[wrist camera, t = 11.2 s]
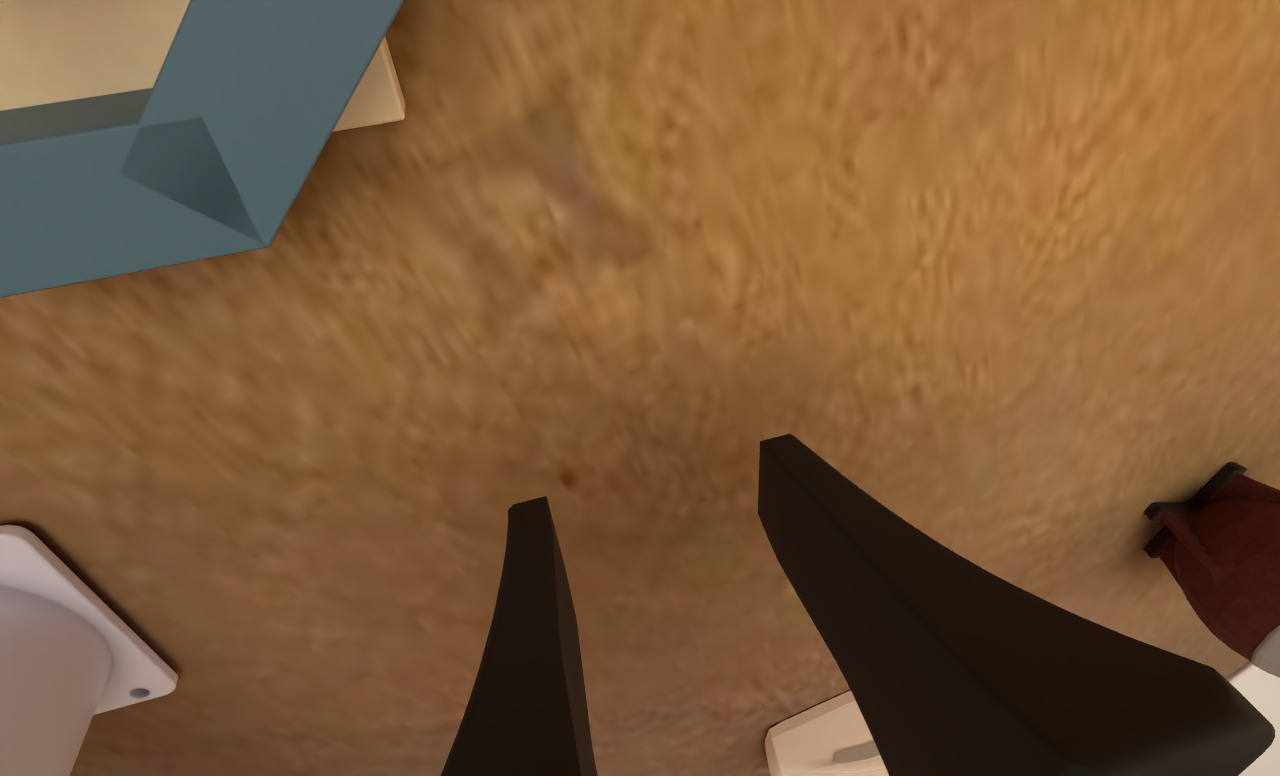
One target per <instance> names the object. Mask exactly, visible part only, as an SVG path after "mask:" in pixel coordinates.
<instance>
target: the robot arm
mask: <svg viewBox="0 0 1280 776" xmlns="http://www.w3.org/2000/svg"><path fill="white" fill-rule="evenodd" d="M758 515H759V517H760V519H761V522H762V524H763V527H764V529H765V532H766V534H767V536H768V539H769V541H770V543H771V546H772V548H773V550H774V552H775V555H776V557H777V559H778V561H779V563H780V565H781V567H782V568H783V570H784V572H785V574H786V575H787V577H788V579H789V581H790V582H791V584H792V586H793V588H794V589H795V591H796V593H797V595H798V596H799V598H800V600H801V602H802V603H803V605H804V607H805V609H806V610H807V612H808V614H809V615H810V617H811V619H812V621H813V622H814V624H815V626H816V627H817V629H818V631H819V633H820V634H821V636H822V638H823V640H824V641H825V643H826V645H827V646H828V648H829V650H830V652H831V653H832V655H833V657H834V658H835V660H836V662H837V664H838V666H839V668H840V670H841V672H842V673H843V675H844V677H845V679H846V681H847V683H848V685H849V687H850V689H851V692H852V694H853V696H854V698H855V700H856V702H857V705H858V707H859V709H860V711H861V713H862V715H863V718H864V720H865V722H866V724H867V726H868V729H869V731H870V733H871V735H872V737H873V740H874V742H875V744H876V747H877V749H878V751H879V753H880V756H881V758H882V760H883V763H884V765H885V767H886V769H887V772H888V774H889V776H1238V775H1239V774H1240V773H1241V772H1242V771H1244V770H1245V769H1246V768H1247V767H1248V766H1249V765H1250V764H1252V763H1253V762H1254V761H1255V760H1256V759H1257V758H1258V757H1259V756H1260V755H1262V754H1263V753H1264V752H1265V750H1266V749H1267V748H1268V747H1269V746H1270V745H1271V744H1272V742H1273V740H1274V738H1275V729H1274V727H1273V726H1272V724H1271V723H1270V722H1269V721H1268V720H1267V719H1266V718H1265V717H1264V716H1263V715H1262V714H1261V713H1260V712H1259V711H1258V710H1257V709H1256V708H1255V707H1254V706H1253V705H1252V704H1251V703H1250V702H1249V701H1248V700H1247V699H1246V698H1245V697H1243V696H1242V694H1241V693H1240V692H1239V691H1238V690H1237V689H1236V688H1234V687H1233V686H1232V685H1231V684H1230V683H1229V682H1228V681H1227V680H1226V679H1225V678H1224V677H1223V676H1222V675H1220V674H1219V673H1218V672H1217V671H1216V670H1215V669H1214V668H1212V667H1209V666H1207V665H1204V664H1201V663H1198V662H1196V661H1193V660H1190V659H1187V658H1185V657H1182V656H1179V655H1176V654H1174V653H1171V652H1168V651H1165V650H1163V649H1160V648H1157V647H1154V646H1152V645H1149V644H1146V643H1143V642H1141V641H1138V640H1135V639H1133V638H1130V637H1128V636H1125V635H1123V634H1120V633H1118V632H1116V631H1113V630H1111V629H1108V628H1106V627H1104V626H1101V625H1099V624H1096V623H1094V622H1092V621H1089V620H1087V619H1084V618H1082V617H1080V616H1078V615H1075V614H1073V613H1071V612H1069V611H1066V610H1064V609H1062V608H1060V607H1058V606H1056V605H1054V604H1052V603H1050V602H1048V601H1045V600H1043V599H1041V598H1039V597H1037V596H1035V595H1033V594H1031V593H1029V592H1027V591H1025V590H1023V589H1021V588H1018V587H1016V586H1014V585H1012V584H1010V583H1008V582H1006V581H1005V580H1003V579H1001V578H999V577H997V576H995V575H993V574H991V573H989V572H988V571H986V570H984V569H982V568H981V567H979V566H977V565H975V564H973V563H972V562H970V561H968V560H966V559H965V558H963V557H961V556H959V555H958V554H956V553H954V552H953V551H951V550H950V549H948V548H946V547H945V546H943V545H941V544H940V543H938V542H937V541H935V540H933V539H932V538H930V537H929V536H927V535H926V534H924V533H923V532H921V531H920V530H918V529H917V528H915V527H914V526H912V525H911V524H909V523H908V522H906V521H905V520H903V519H902V518H900V517H899V516H897V515H896V514H895V513H893V512H892V511H890V510H889V509H887V508H886V507H885V506H883V505H882V504H881V503H879V502H878V501H877V500H875V499H874V498H872V497H871V496H870V495H868V494H867V493H866V492H864V491H863V490H861V489H860V488H859V487H857V486H856V485H855V484H854V483H852V482H851V481H850V480H848V479H847V478H846V477H844V476H843V475H842V474H841V473H839V472H838V471H837V470H836V469H834V468H833V467H832V466H830V465H829V464H828V463H827V462H825V461H824V460H823V459H822V458H820V457H819V456H818V455H817V454H816V453H814V452H813V451H812V450H811V449H809V448H808V447H807V446H806V445H804V444H803V443H802V442H801V441H799V440H798V439H797V438H796V437H794V436H793V435H791V434H787V435H783V436H779V437H775V438H771V439H767V440H763V441H760V461H759V495H758ZM177 681H178V675H177V674H176V673H175V672H174V671H173V670H172V669H171V668H170V667H169V666H168V665H167V664H166V663H165V662H164V661H163V660H162V659H161V658H160V657H159V656H158V655H157V654H156V653H155V652H154V651H153V650H152V649H151V648H150V647H149V646H148V645H147V644H146V643H145V642H144V641H143V640H142V639H141V638H140V637H139V636H138V635H137V634H136V633H135V632H134V631H133V630H132V629H130V628H129V627H128V626H127V625H126V624H125V623H124V622H123V621H122V620H121V619H120V618H119V617H118V616H117V615H116V614H115V613H114V612H113V611H112V610H111V609H110V608H109V607H108V606H107V605H106V604H105V603H104V602H103V601H102V600H101V599H100V598H99V597H98V596H97V595H96V594H95V593H94V592H93V591H92V590H91V589H90V588H89V587H88V586H87V585H86V584H85V583H84V582H83V581H81V580H80V579H79V578H78V577H77V576H76V575H75V574H74V573H73V572H72V571H71V570H70V569H69V568H68V567H67V566H66V565H65V564H64V563H63V562H62V561H61V560H60V559H59V558H58V557H57V556H56V555H55V554H54V553H53V552H52V551H51V550H50V549H49V548H48V547H47V546H46V545H45V544H44V543H43V542H42V541H41V540H40V539H39V538H38V537H37V536H36V535H35V534H33V533H32V532H31V531H29V530H28V529H26V528H23V527H20V526H15V525H3V526H0V776H70V773H71V771H72V768H73V766H74V763H75V761H76V758H77V756H78V753H79V751H80V748H81V745H82V743H83V740H84V738H85V735H86V733H87V730H88V728H89V725H90V723H91V720H92V718H93V715H96V714H99V713H103V712H106V711H110V710H114V709H117V708H121V707H124V706H128V705H132V704H135V703H139V702H142V701H146V700H150V699H153V698H157V697H160V696H164V695H167V694H169V693H171V692H172V691H173V690H175V687H176V684H177ZM441 776H597V771H596V766H595V761H594V754H593V748H592V742H591V735H590V727H589V719H588V710H587V702H586V694H585V686H584V677H583V669H582V661H581V653H580V645H579V636H578V628H577V620H576V615H575V610H574V606H573V601H572V597H571V592H570V588H569V583H568V579H567V574H566V570H565V565H564V561H563V558H562V554H561V550H560V546H559V542H558V539H557V535H556V531H555V527H554V523H553V519H552V516H551V512H550V508H549V504H548V500H547V497H546V496H545V497H541V498H537V499H533V500H529V501H525V502H521V503H517V504H514V505H512V507H511V508H510V509H509V510H508V532H507V543H506V551H505V558H504V565H503V571H502V577H501V582H500V587H499V592H498V596H497V601H496V606H495V611H494V615H493V620H492V624H491V627H490V631H489V635H488V638H487V642H486V646H485V650H484V653H483V657H482V661H481V664H480V668H479V671H478V674H477V677H476V681H475V684H474V687H473V690H472V693H471V696H470V699H469V702H468V705H467V708H466V711H465V714H464V716H463V719H462V722H461V725H460V728H459V730H458V733H457V735H456V738H455V741H454V743H453V746H452V748H451V751H450V753H449V756H448V759H447V761H446V764H445V766H444V769H443V771H442V774H441Z"/></svg>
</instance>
